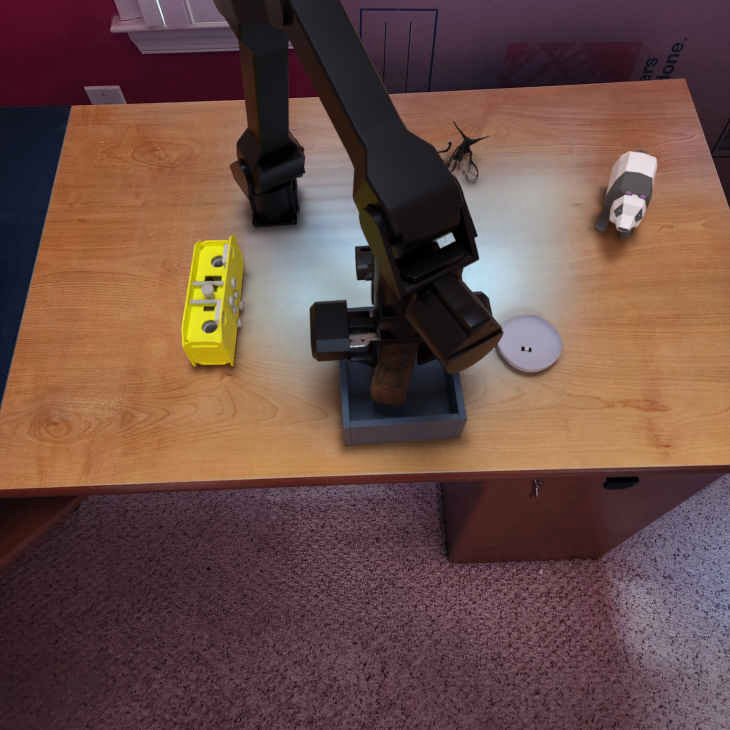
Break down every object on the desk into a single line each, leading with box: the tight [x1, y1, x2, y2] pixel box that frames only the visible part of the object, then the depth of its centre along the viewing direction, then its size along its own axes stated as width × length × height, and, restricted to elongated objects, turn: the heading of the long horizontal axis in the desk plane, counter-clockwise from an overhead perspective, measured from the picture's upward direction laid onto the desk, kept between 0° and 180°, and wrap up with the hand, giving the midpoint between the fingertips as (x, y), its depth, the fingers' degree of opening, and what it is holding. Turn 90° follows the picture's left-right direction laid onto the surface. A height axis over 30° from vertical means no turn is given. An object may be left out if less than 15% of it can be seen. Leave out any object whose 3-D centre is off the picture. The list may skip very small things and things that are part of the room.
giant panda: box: [594, 149, 658, 240], centre depth 79 cm, size 15×6×10 cm, turn 159°
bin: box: [338, 305, 468, 447], centre depth 69 cm, size 14×16×6 cm
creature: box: [438, 120, 490, 183], centre depth 86 cm, size 8×5×8 cm
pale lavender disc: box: [496, 313, 563, 373], centre depth 73 cm, size 8×8×2 cm
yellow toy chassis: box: [180, 233, 245, 368], centre depth 73 cm, size 16×6×8 cm, turn 1°
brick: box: [371, 343, 419, 407], centre depth 66 cm, size 11×4×5 cm, turn 165°
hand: (397, 363), depth 67 cm, fingers closed on brick, 5 cm apart
